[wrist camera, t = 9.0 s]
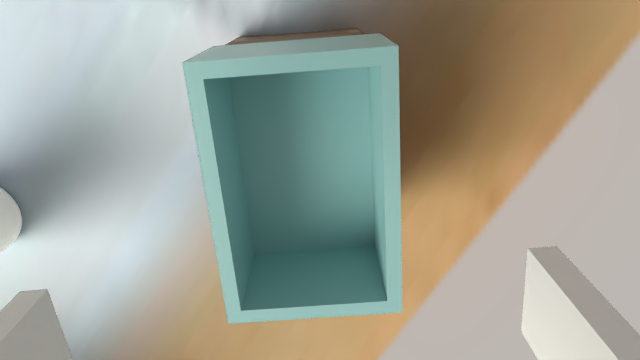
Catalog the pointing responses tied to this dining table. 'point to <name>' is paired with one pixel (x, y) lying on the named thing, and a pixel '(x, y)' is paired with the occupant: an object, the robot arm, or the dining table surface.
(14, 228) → the drinking glass
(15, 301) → the robot arm
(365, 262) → the teal crate
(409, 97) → the dining table surface
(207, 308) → the dining table surface
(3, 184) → the dining table surface
